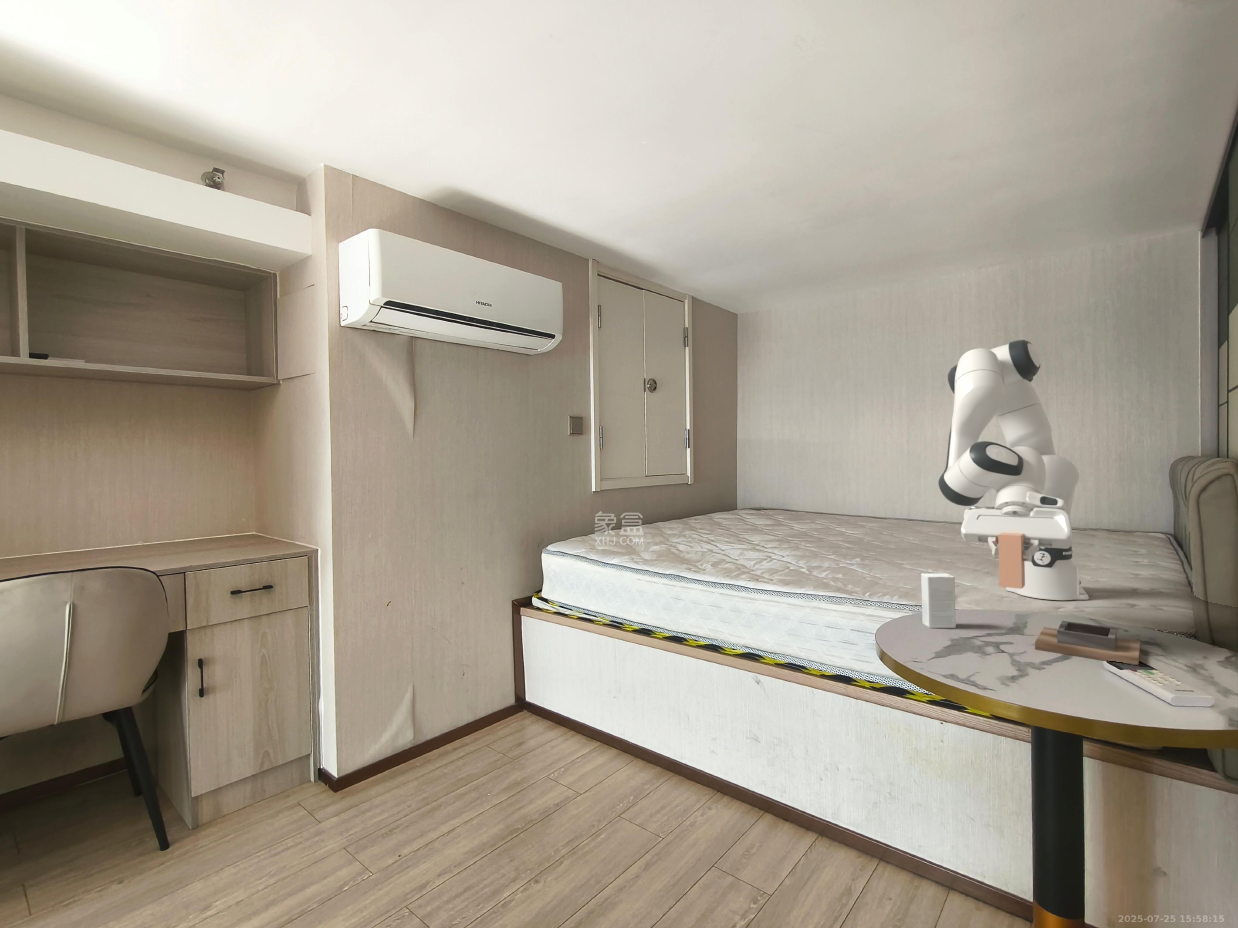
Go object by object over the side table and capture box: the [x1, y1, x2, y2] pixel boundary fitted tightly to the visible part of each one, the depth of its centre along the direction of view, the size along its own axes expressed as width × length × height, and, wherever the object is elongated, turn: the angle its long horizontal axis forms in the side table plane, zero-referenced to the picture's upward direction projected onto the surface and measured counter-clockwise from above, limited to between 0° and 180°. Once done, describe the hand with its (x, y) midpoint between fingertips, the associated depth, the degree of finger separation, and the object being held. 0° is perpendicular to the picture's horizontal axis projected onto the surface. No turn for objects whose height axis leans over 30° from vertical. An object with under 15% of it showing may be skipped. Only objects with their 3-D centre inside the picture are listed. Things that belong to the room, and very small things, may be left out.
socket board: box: [1034, 620, 1141, 666], centre depth 122 cm, size 13×16×4 cm
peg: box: [997, 532, 1025, 589], centre depth 127 cm, size 4×4×11 cm
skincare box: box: [920, 572, 957, 629], centre depth 140 cm, size 6×4×12 cm
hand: (1011, 558), depth 126 cm, fingers closed on peg, 4 cm apart
